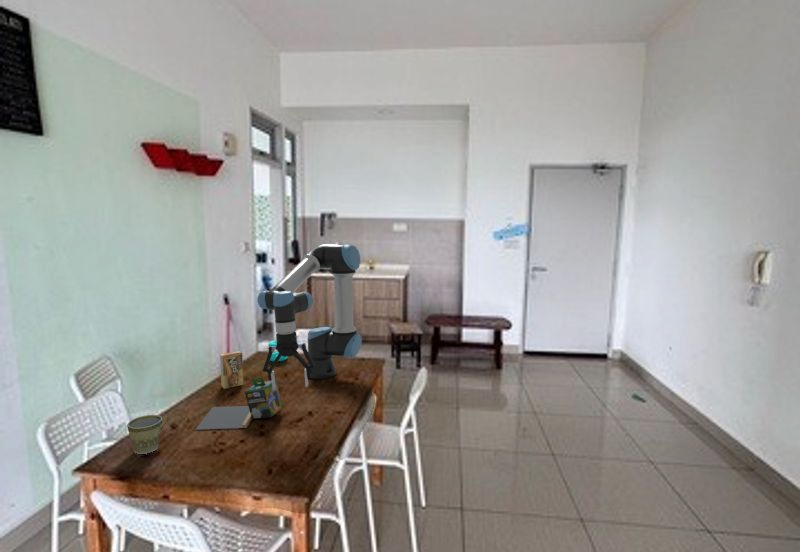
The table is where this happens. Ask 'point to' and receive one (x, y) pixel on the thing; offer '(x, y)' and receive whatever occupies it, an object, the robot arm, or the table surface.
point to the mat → (226, 418)
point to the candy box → (231, 369)
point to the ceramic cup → (145, 433)
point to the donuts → (274, 355)
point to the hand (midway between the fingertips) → (290, 387)
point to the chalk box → (263, 399)
